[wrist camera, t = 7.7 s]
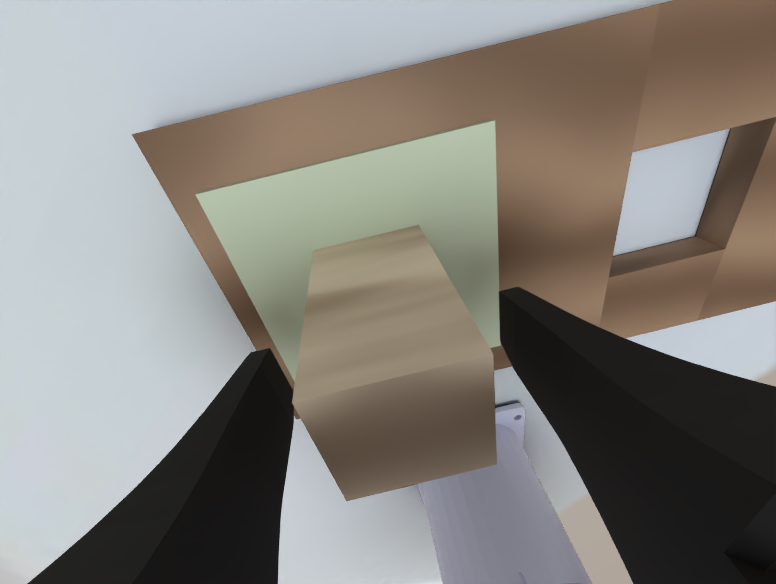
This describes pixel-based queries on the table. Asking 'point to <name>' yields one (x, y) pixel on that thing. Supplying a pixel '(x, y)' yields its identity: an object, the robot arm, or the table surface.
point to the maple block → (392, 367)
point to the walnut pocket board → (544, 156)
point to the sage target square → (365, 222)
